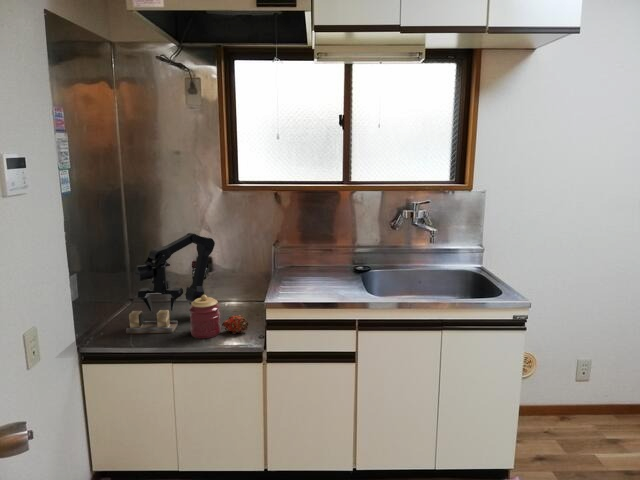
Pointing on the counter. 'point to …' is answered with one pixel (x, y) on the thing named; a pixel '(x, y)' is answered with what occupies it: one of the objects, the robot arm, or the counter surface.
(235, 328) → the dragon fruit
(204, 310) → the canister
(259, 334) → the counter surface
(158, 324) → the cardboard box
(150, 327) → the slider rail with block
